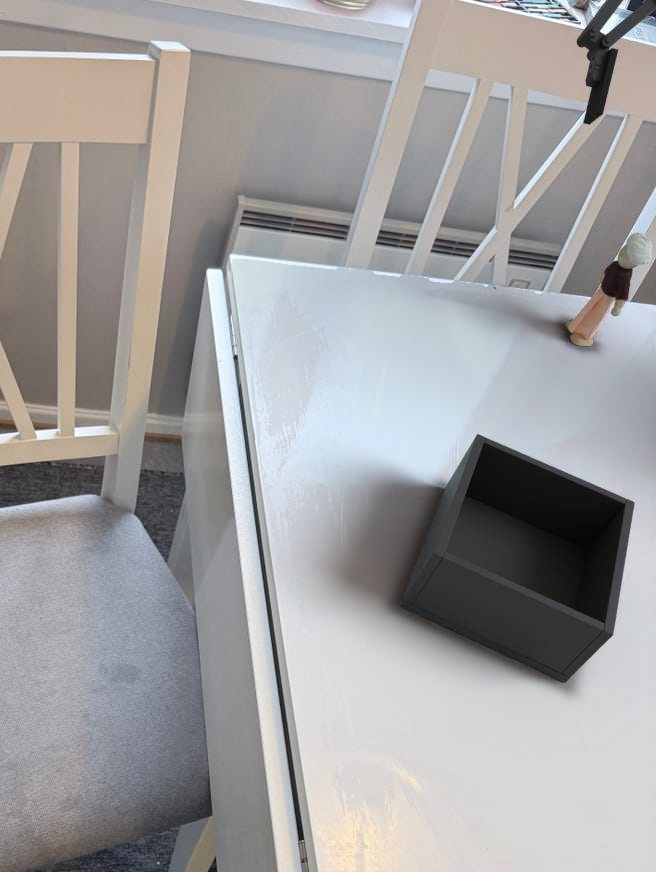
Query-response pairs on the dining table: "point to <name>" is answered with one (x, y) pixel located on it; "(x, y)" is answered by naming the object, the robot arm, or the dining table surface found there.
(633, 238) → the grandmother figurine
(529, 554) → the bin
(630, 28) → the robot arm
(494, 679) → the dining table surface
